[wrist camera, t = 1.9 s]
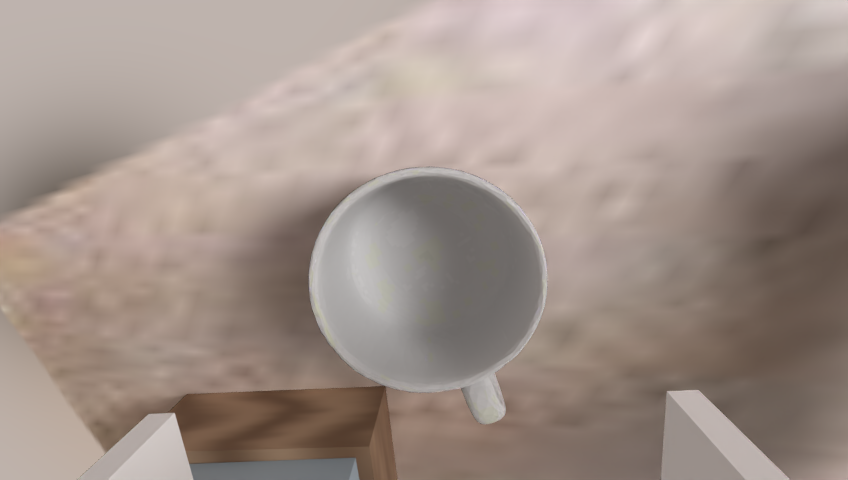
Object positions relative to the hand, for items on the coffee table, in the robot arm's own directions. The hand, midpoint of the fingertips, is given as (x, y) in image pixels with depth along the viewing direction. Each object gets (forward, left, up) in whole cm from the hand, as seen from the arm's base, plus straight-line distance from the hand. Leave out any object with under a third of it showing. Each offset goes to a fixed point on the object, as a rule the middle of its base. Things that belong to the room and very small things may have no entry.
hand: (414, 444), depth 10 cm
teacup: (0, 0, -16) cm, 16 cm away
